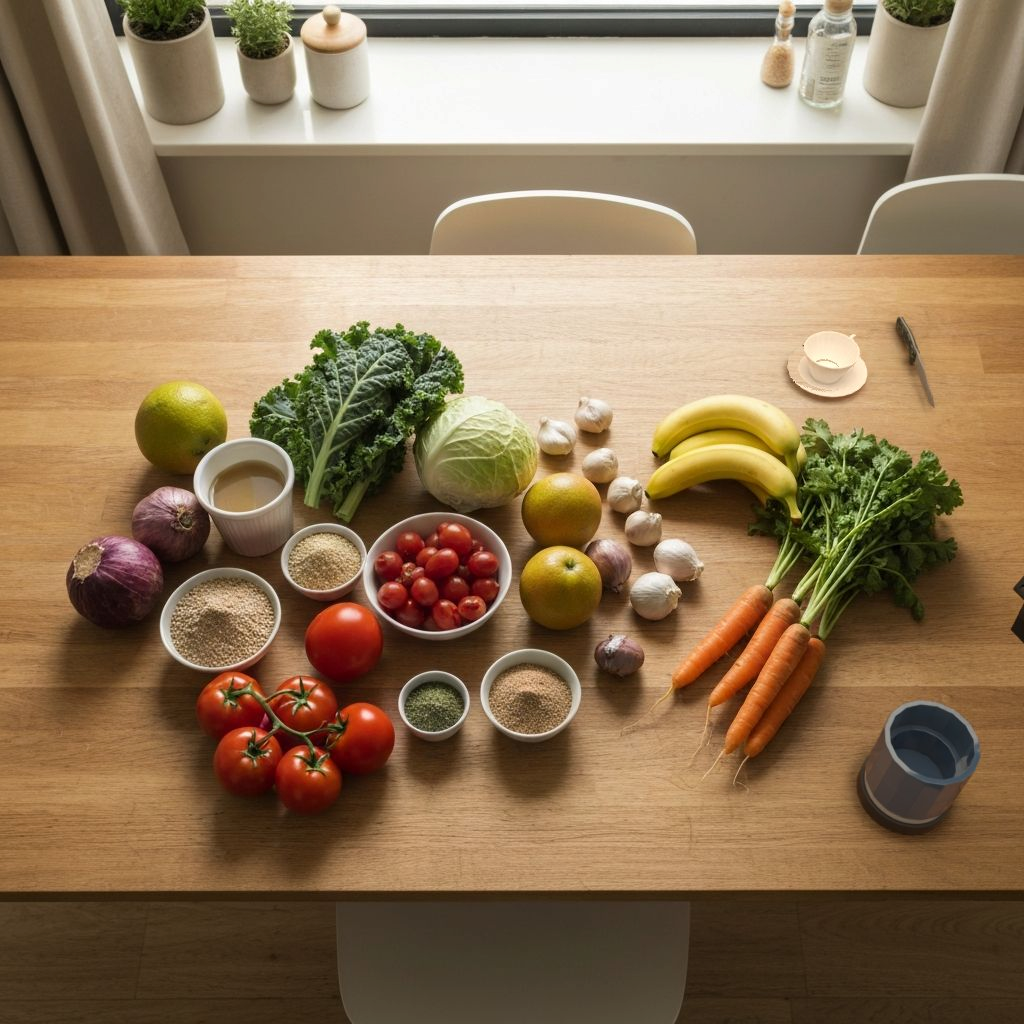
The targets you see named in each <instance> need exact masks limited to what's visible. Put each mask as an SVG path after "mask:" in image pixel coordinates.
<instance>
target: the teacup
mask: <svg viewBox="0 0 1024 1024" xmlns="http://www.w3.org/2000/svg"><path fill="white" fill-rule="evenodd" d="M856 337H857V335H856V334H855V333H853V334H851V335H850V336H848V335H847V334H844V333H841V332H837V331H829V330H824V331H818V332H816V333H813V334H811V335H810V336H808V337H807V338H806V340H805V342H804V344H803V345H804V351H805V355H806V356H804V357H803V358H802V359H801V360H800V363H799V365H798V371H799V373H800V376H801V377H802V378H803V380H805V381H806V382H807V383H808V384H810V385H812V386H814V387H817V388H820V389H825V390H832V391H825V390H824V391H825V392H824V391H823V390H822V391H823V392H822V391H818V390H817V391H816V390H811V389H812V388H809V387H808V388H807V387H806V386H805V387H806V388H805V387H804V386H803V385H800V384H798V383H796V381H795V380H792V381H793V382H794V381H795V383H794V384H795V385H797V386H798V387H799V386H800V387H799V388H801V389H802V390H804V391H806V392H807V393H810V394H813V395H815V396H816V395H817V396H820V397H825V398H841V397H845V396H849V395H851V394H854V393H856V392H857V391H859V390H860V389H861V388H862V387H863V386H864V385H865V384H866V382H867V379H868V368H867V366H866V363H865V360H863V358H861V350H860V346H859V345H858V344H857V342H856V341H855V340H856ZM820 359H825V360H826V359H828V360H831V361H833V362H835V363H837V365H838V366H839V367H838V366H837V365H836V364H834V363H832V362H829V361H820V362H816V361H817V360H820ZM853 366H854V367H853ZM810 371H811V372H810ZM812 374H813V375H814V376H815V377H816V378H815V377H814V376H813V375H812ZM791 378H792V377H790V379H791ZM817 378H818V379H817ZM819 379H820V380H819ZM822 380H823V381H822ZM835 380H836V381H835ZM826 381H831V382H826ZM837 389H838V390H837Z"/></svg>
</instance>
